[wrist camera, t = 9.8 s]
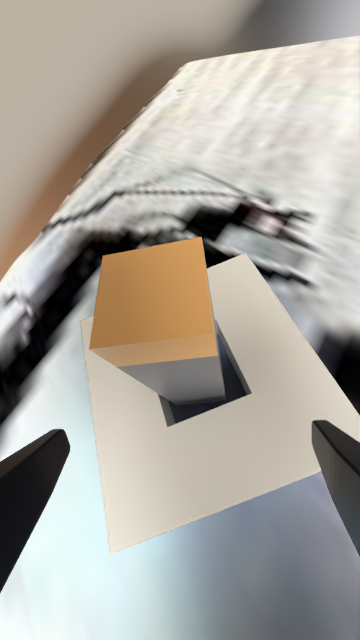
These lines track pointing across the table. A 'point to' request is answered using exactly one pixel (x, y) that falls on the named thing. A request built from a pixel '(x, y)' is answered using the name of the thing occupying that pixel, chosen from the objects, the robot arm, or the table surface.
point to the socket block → (213, 419)
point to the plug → (160, 321)
